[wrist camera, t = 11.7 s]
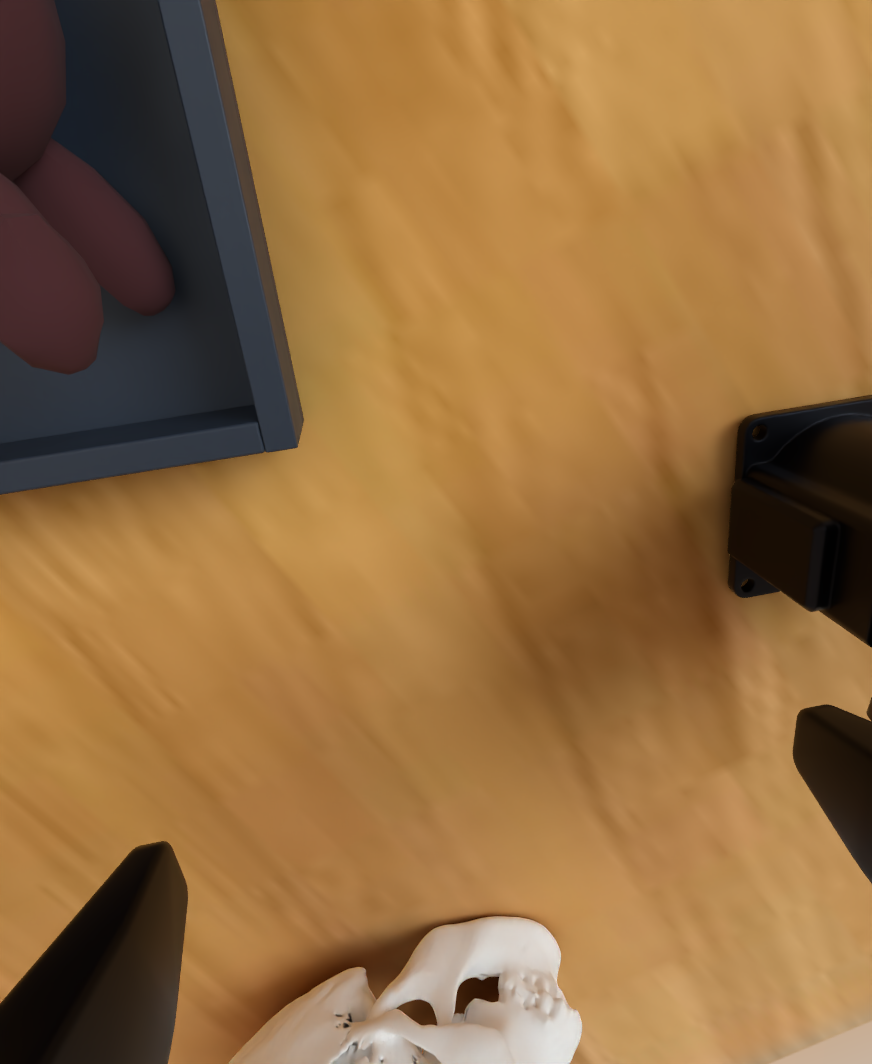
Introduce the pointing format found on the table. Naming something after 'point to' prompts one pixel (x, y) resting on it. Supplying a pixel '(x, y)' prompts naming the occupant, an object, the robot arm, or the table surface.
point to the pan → (192, 249)
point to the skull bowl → (435, 1006)
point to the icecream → (60, 212)
